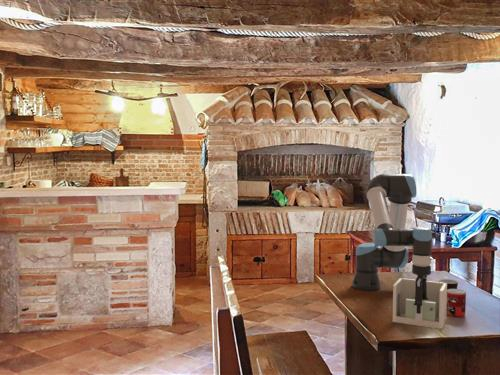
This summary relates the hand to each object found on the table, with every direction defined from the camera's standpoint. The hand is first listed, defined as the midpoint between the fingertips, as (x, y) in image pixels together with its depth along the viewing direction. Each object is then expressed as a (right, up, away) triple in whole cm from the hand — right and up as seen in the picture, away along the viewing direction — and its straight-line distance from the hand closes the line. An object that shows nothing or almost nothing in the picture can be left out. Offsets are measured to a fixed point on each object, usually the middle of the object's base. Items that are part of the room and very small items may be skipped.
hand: (420, 317), depth 221 cm
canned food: (+20, -2, +12) cm, 23 cm away
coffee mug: (+24, 0, +34) cm, 42 cm away
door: (0, -3, 0) cm, 3 cm away
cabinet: (+1, -2, +5) cm, 5 cm away
